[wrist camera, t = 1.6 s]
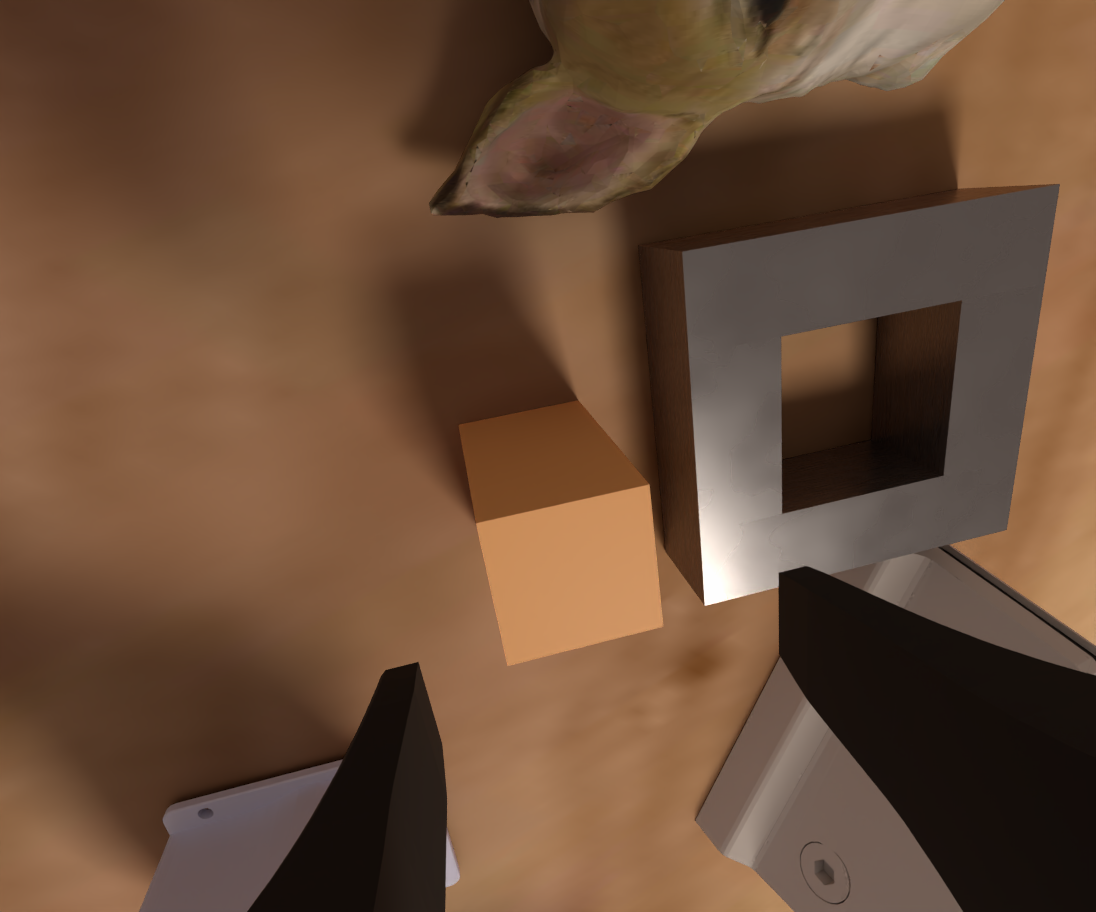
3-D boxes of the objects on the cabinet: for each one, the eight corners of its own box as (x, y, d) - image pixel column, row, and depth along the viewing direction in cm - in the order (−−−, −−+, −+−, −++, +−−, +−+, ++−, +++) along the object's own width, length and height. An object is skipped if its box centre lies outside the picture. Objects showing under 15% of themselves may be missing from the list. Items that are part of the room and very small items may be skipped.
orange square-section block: (481, 532, 22) (507, 665, 15) (458, 424, 20) (475, 522, 14) (592, 506, 22) (663, 626, 16) (578, 400, 21) (649, 484, 14)
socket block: (665, 552, 23) (704, 605, 20) (638, 245, 19) (681, 251, 16) (929, 488, 25) (1006, 530, 21) (959, 188, 20) (1059, 184, 17)
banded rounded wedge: (854, 512, 24) (1180, 693, 17) (912, 517, 27) (1214, 675, 19) (691, 827, 29) (886, 1080, 21) (754, 804, 32) (946, 1021, 24)
